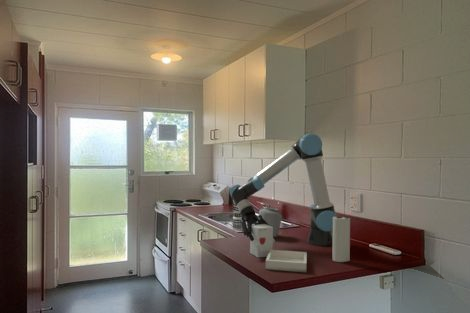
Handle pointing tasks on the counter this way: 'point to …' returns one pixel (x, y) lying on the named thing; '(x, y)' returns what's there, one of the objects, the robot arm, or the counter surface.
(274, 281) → the counter surface
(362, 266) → the counter surface
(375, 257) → the counter surface
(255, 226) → the supplement box
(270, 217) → the jar
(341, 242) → the paper towel roll
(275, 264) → the ceramic dish
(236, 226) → the decorative candle
